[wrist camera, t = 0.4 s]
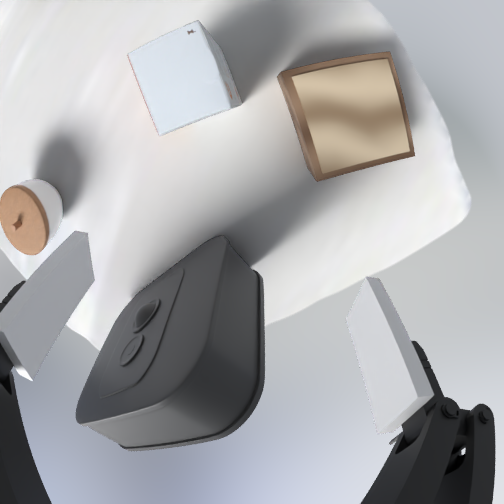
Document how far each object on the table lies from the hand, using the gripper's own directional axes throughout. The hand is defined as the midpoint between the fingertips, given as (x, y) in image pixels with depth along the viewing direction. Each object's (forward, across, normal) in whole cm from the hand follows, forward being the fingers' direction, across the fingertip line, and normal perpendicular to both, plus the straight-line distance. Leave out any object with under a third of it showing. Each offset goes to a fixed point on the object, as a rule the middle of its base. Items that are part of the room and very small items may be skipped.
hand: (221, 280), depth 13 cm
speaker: (+24, -7, -20) cm, 32 cm away
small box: (+25, -6, +9) cm, 27 cm away
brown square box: (+24, +10, +8) cm, 28 cm away
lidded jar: (+25, -30, -10) cm, 40 cm away
